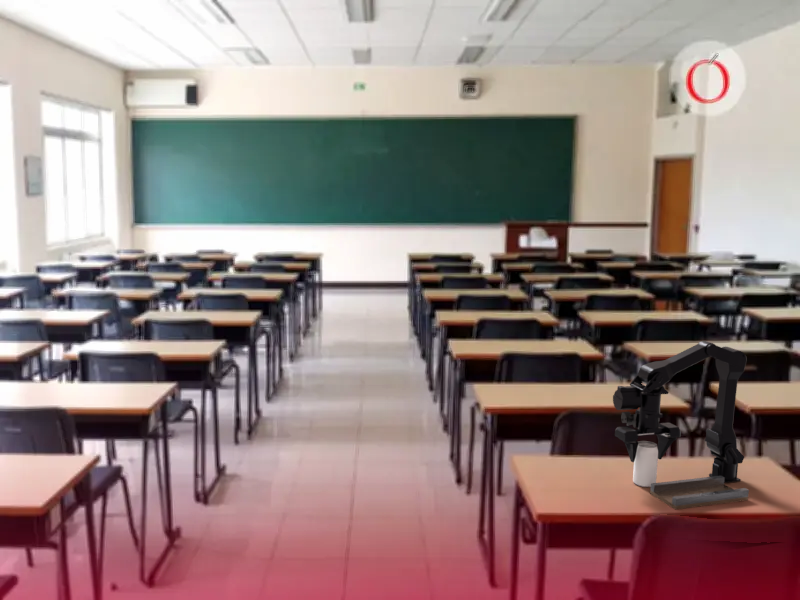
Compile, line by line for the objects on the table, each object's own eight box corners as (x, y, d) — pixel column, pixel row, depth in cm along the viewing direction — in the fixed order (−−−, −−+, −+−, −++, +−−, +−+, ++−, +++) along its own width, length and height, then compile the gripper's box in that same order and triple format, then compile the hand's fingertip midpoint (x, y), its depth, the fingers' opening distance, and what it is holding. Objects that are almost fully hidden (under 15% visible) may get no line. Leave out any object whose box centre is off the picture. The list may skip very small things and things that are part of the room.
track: (720, 485, 219) (720, 475, 219) (747, 500, 209) (748, 489, 209) (650, 493, 212) (650, 483, 212) (675, 509, 202) (676, 498, 201)
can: (657, 488, 216) (660, 448, 214) (633, 486, 217) (636, 446, 215) (654, 480, 222) (657, 441, 220) (631, 478, 223) (634, 439, 222)
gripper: (659, 399, 227) (655, 448, 229) (605, 403, 221) (602, 453, 223) (683, 409, 216) (679, 461, 219) (627, 413, 211) (624, 467, 213)
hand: (645, 460), depth 219 cm, fingers open, 9 cm apart
